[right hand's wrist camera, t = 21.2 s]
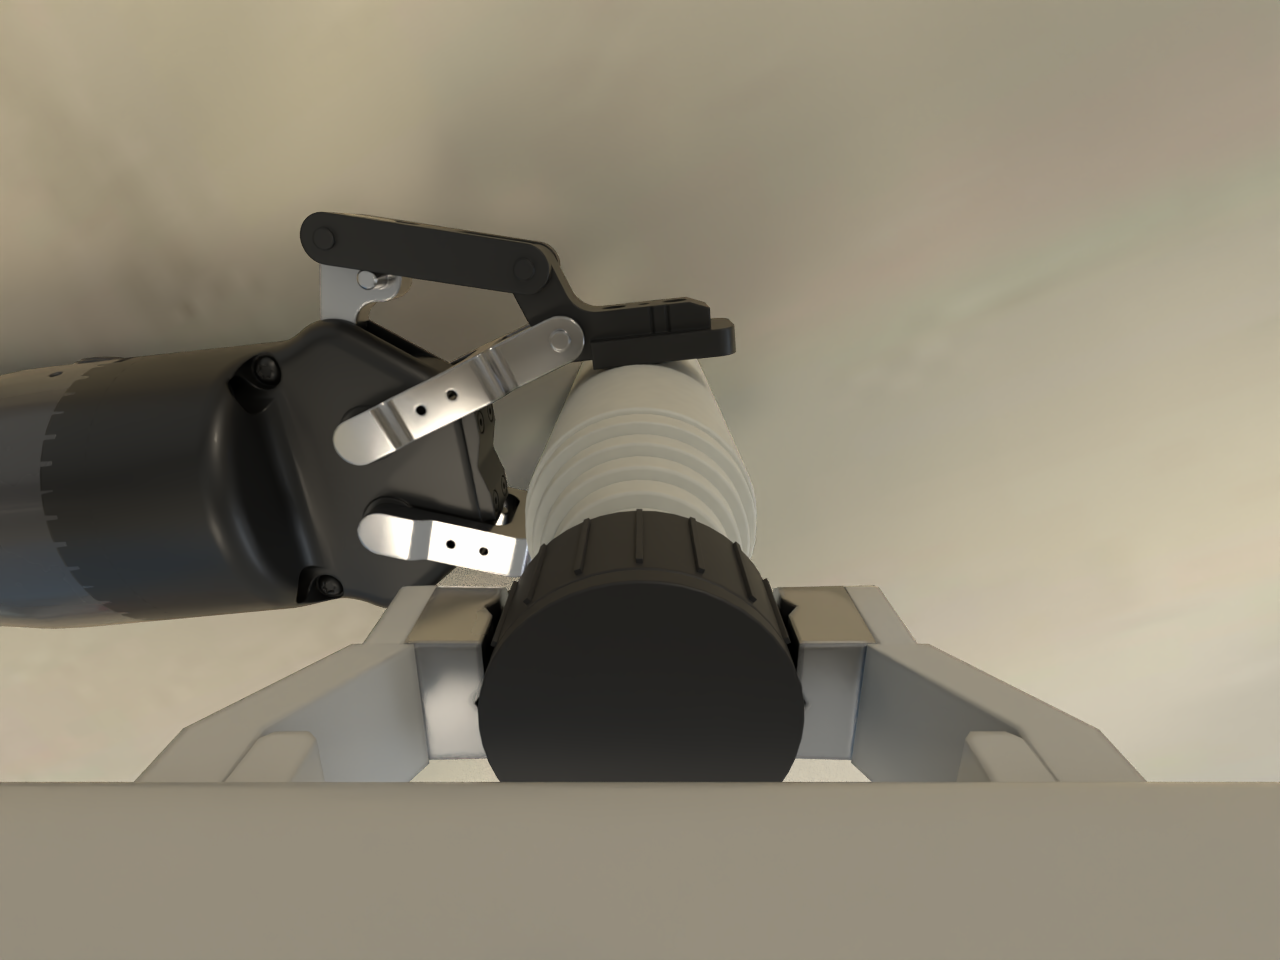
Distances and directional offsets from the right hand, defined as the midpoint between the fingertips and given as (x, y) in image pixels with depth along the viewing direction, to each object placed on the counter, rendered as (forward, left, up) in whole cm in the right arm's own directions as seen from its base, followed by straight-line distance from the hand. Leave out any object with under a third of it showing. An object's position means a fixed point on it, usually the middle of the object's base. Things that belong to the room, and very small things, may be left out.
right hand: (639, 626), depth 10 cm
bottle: (0, 0, -16) cm, 16 cm away
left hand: (0, +3, -10) cm, 10 cm away
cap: (0, 0, +2) cm, 2 cm away
